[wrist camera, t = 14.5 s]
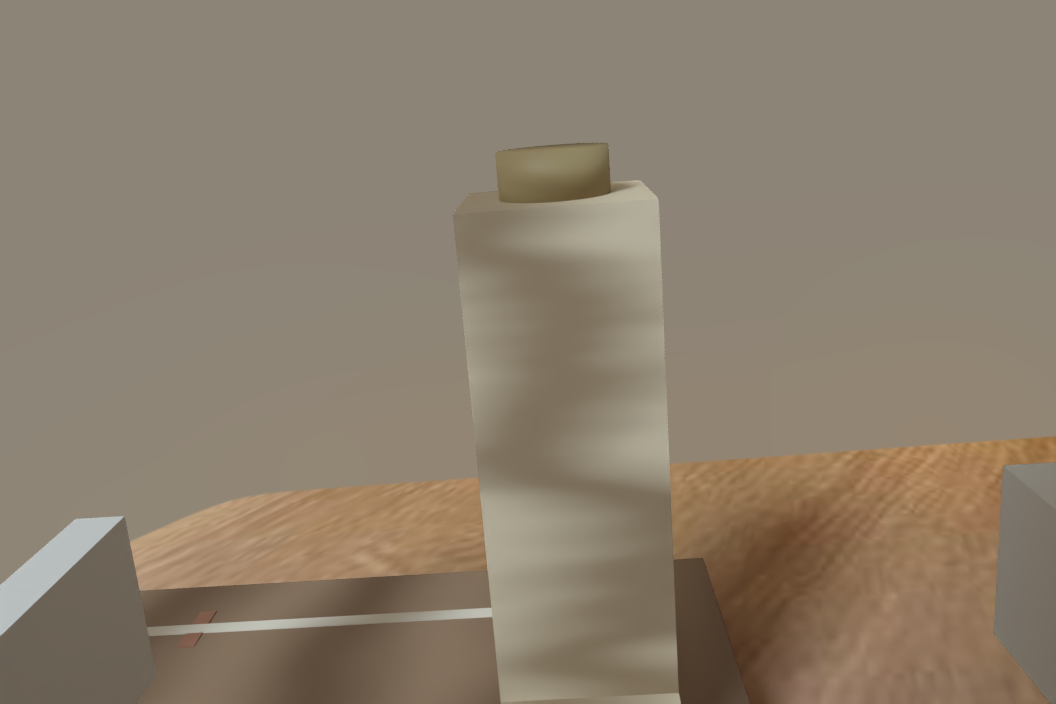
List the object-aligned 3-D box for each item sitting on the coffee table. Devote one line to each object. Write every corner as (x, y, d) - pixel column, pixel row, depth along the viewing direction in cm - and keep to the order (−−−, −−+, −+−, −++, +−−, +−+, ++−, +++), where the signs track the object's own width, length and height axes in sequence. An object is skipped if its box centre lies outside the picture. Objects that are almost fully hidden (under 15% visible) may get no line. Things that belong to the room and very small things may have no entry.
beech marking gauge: (653, 617, 28) (629, 132, 24) (697, 853, 19) (672, 153, 16) (517, 625, 28) (474, 144, 25) (502, 862, 20) (432, 172, 16)
